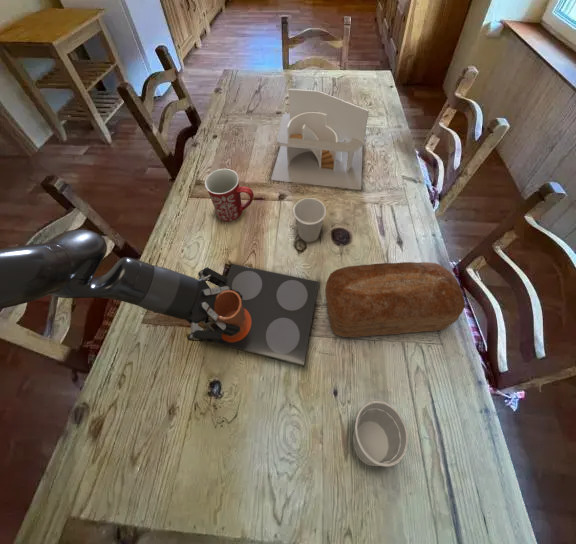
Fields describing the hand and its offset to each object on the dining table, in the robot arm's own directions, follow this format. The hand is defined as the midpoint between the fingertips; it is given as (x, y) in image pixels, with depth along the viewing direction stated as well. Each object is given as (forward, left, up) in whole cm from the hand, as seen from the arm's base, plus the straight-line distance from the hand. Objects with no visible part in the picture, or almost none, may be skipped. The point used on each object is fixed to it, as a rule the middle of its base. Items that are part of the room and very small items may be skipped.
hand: (238, 314), depth 71 cm
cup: (-14, -29, -7) cm, 33 cm away
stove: (+4, -4, -6) cm, 9 cm away
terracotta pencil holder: (0, +2, -5) cm, 5 cm away
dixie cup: (+27, -10, -7) cm, 29 cm away
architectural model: (+55, -8, -7) cm, 56 cm away
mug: (+29, +12, -7) cm, 32 cm away
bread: (+10, -31, -7) cm, 33 cm away
